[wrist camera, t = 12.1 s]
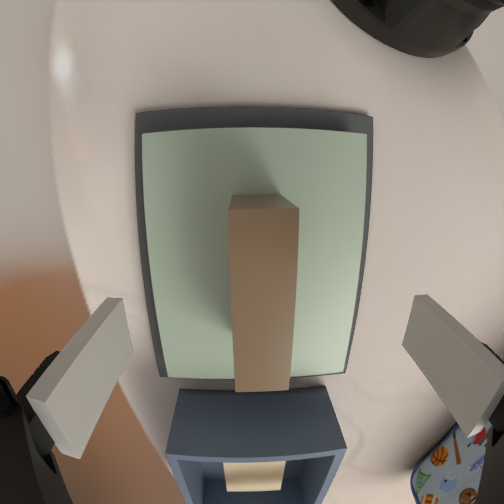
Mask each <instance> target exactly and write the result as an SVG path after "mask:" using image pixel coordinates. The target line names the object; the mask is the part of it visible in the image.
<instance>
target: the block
mask: <svg viewBox="0 0 504 504" xmlns="http://www.w3.org/2000/svg"><path fill="white" fill-rule="evenodd" d="M285 463H286V461H276V462H254V463H223V465H224V473H225V480H226V487H227V491H271V490H280V489H281V484H282V479H283V474H284V469H285Z"/></svg>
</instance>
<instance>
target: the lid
mask: <svg viewBox="0 0 504 504" xmlns="http://www.w3.org/2000/svg"><path fill="white" fill-rule="evenodd" d="M142 168H143V192H144V209H145V222H146V234H147V245H148V255H149V264H150V272H151V280H152V288H153V295H154V302H155V309H156V315H157V321H158V327H159V333H160V339H161V344H162V349H163V355H164V360H165V364H166V369H167V374H168V377H174V378H197V379H235V392H261V391H281V390H289V383H290V377H295V376H308V375H319V374H329V373H337V372H343V370H344V365H345V360H346V355H347V349H348V344H349V339H350V333H351V327H352V321H353V315H354V308H355V301H356V294H357V287H358V279H359V271H360V262H361V252H362V241H363V229H364V215H365V198H366V170H367V134H361V133H352V132H341V131H330V130H316V129H297V128H258V127H248V128H208V129H190V130H176V131H164V132H154V133H145V134H142Z"/></svg>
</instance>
